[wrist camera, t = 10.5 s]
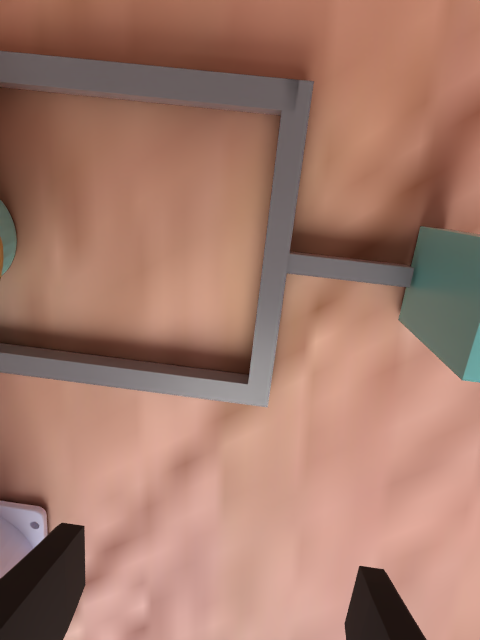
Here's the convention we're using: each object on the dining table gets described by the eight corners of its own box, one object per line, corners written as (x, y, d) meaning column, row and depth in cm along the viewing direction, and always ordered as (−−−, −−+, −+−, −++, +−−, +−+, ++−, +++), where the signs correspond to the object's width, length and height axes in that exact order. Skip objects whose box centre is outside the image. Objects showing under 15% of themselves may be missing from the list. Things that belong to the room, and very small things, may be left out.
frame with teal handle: (402, 414, 18) (461, 510, 13) (-106, 348, 19) (-262, 410, 14) (482, 105, 15) (619, 46, 9) (-158, 43, 16) (-407, -48, 10)
